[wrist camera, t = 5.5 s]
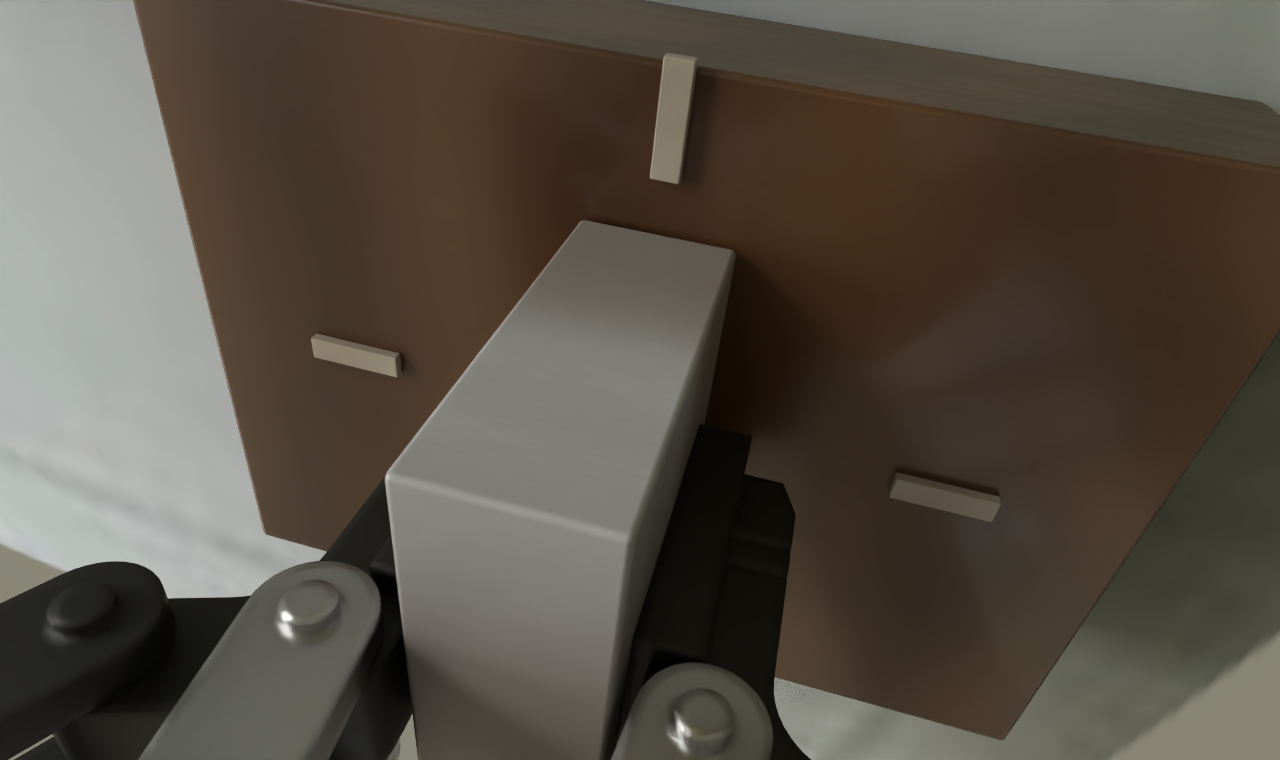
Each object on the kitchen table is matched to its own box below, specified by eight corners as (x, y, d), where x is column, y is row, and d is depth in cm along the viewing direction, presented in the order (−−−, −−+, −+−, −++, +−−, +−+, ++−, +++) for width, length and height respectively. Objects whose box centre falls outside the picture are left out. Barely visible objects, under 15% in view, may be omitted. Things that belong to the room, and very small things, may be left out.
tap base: (1271, 93, 10) (1396, 182, 8) (985, 609, 16) (1003, 755, 14) (271, -70, 12) (109, -41, 10) (346, 444, 18) (258, 545, 16)
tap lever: (580, 217, 10) (363, 496, 6) (737, 249, 10) (627, 564, 6) (561, 546, 14) (416, 866, 9) (676, 575, 13) (579, 920, 9)
